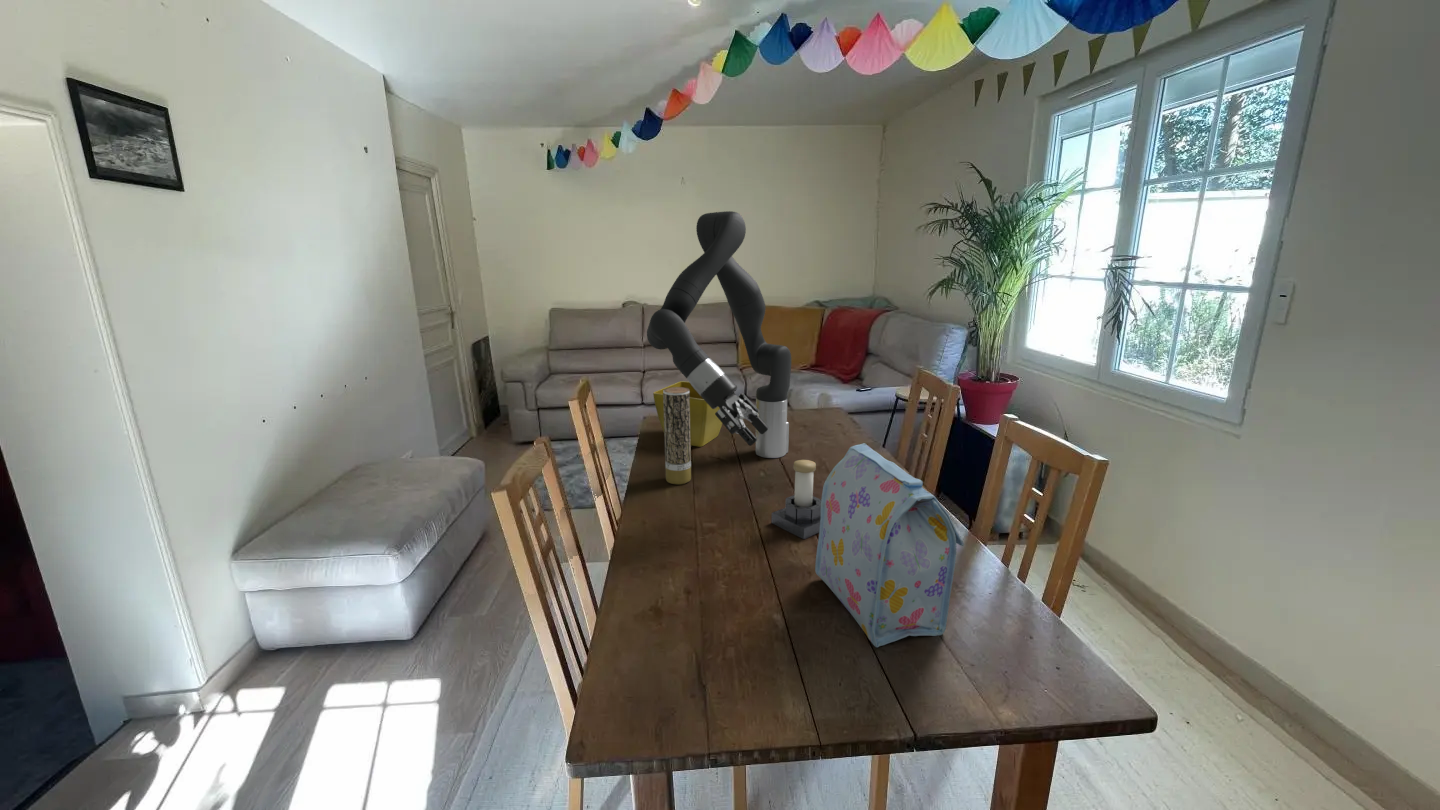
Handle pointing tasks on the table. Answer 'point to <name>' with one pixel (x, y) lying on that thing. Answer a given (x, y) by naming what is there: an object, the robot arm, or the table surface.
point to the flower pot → (694, 415)
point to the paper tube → (677, 434)
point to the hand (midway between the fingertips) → (759, 437)
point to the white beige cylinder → (804, 482)
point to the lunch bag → (886, 548)
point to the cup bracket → (799, 518)
